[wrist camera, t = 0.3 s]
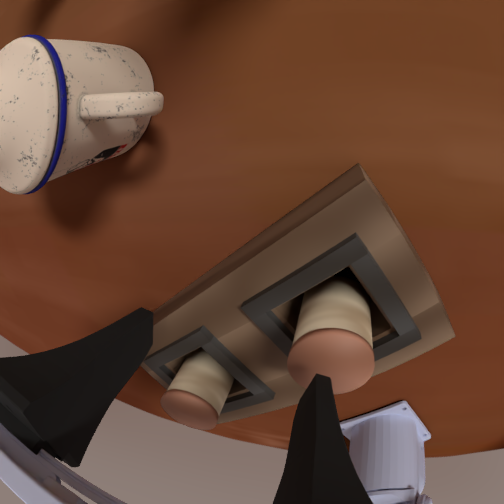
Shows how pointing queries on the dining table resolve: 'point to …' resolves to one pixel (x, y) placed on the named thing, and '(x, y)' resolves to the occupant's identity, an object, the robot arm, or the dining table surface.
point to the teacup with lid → (68, 107)
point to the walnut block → (300, 297)
